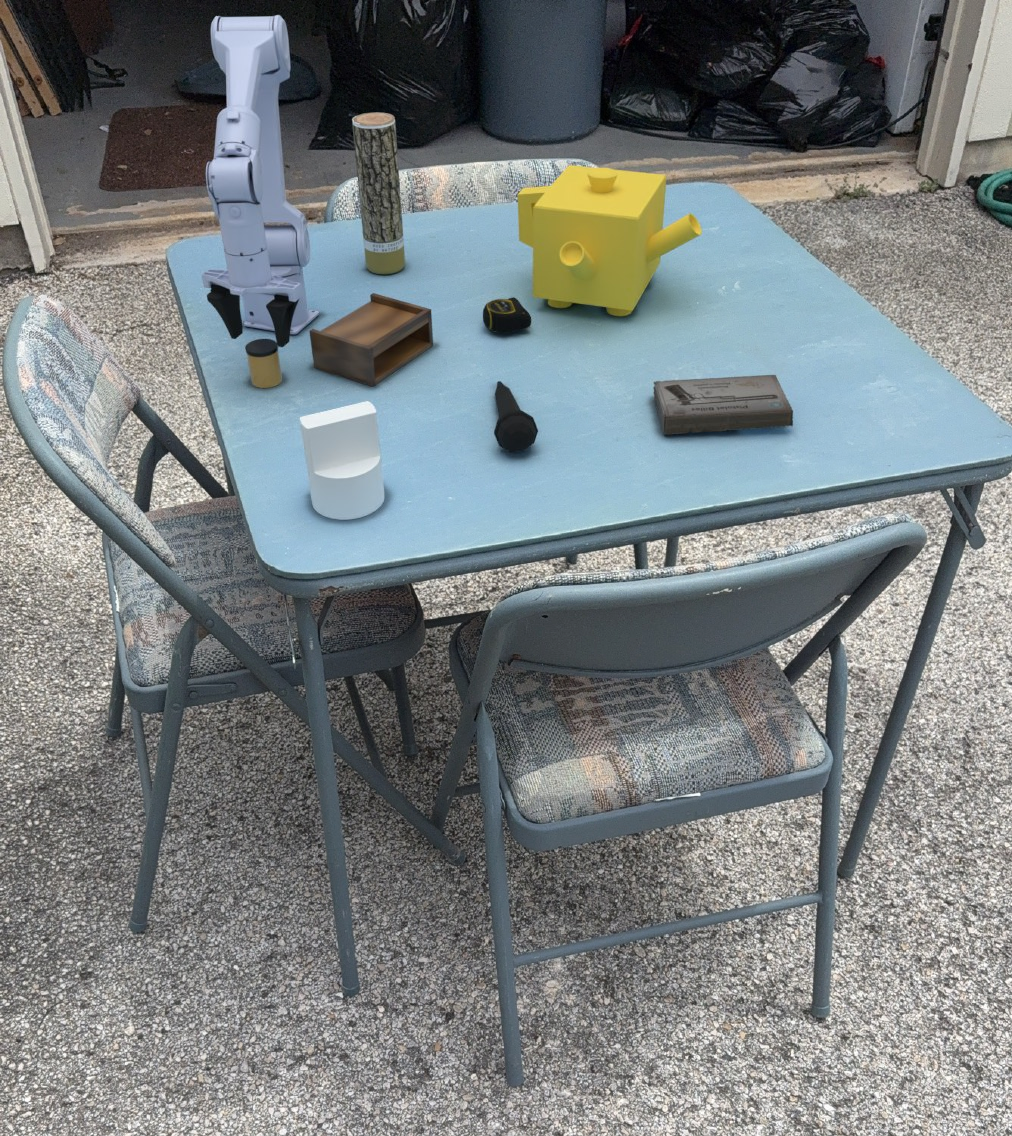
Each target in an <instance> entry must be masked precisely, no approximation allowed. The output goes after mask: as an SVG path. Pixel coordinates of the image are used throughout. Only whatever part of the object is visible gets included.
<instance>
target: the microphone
mask: <svg viewBox="0 0 1012 1136" xmlns="http://www.w3.org/2000/svg"><path fill="white" fill-rule="evenodd" d="M494 398H495V402H496V403H495V404H496V409H497V414H498V419H497V421H496V424H495V427H494V431H493V434H494V437H495V440H496V442H497V445H498V446H499V447H500V448H502V449H503V450H505V451H507V452H509V453H521V452H525V451H526V450H527V449H529V448H530V447H531V446H532V445H534V444H535V443H536V440H537V436H538V434H539V429H538V426H537V424H536V421H535V418H534V417H533V415H530V414H529V413H527V412H525V411H524V410H522V409H521V408H520V406H519V403H518V402H517V400H516V398H515V396H514V395H513V392H512V391H511V389H510V387H508V386H506V385H505V384H504V383H503V382H502V381H501V380H498V381H497V382H496V389H495V393H494Z"/></svg>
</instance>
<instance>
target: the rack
mask: <svg viewBox="0 0 1012 1136" xmlns="http://www.w3.org/2000/svg"><path fill="white" fill-rule="evenodd" d="M369 297H370V300H369V301H368V302H367V303H364V304H363V305H362V306H360V307H358V308H357V309H355V310H353V311H351V312H350V313H348V314H347V315H345V316H343V317H341V318H340V319H338V320H336V321H334V322H333V323H331V324H330V325H328V326H327V327H325V328H323V329H321V330H318V329H315V328H311V329H310V330H309V331H308V332H309V340H310V347H311V356H312V363H313V368H314V369H317V370H320V371H323V372H326V373H329V374H332V375H336V376H339V377H342V378H345V379H348V380H350V381H354V382H357V383H359V384H363V385H365V386H366V385H367V386H369V387H372V388H373V387H374V386H377V385H378V384H379V383H380V382H382V381H383V380H385V379H386V378H387V377H389V376H391V375H392V374H393V373H395V372H396V371H398V370H400V369H401V368H402V367H404V366H405V365H407V364H408V363H410V362H411V361H412V360H414V359H416V358H417V357H418V356H420V355H422V354H423V353H424V352H426V351H428V350H429V349H430V348H432V347H433V346H434V335H433V334H434V333H433V316H432V309H431V308H428V307H425V306H421V305H417V304H414V303H410V302H407V301H403V300H400V299H397V298H393V297H389V296H385V295H383V294H378V293H375V292H372V293H370V295H369Z"/></svg>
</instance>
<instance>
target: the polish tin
mask: <svg viewBox="0 0 1012 1136" xmlns="http://www.w3.org/2000/svg"><path fill="white" fill-rule="evenodd" d="M244 350H245V353H246V357H247V363H248V369H249V374H250V375H249V376H250V380H251V384H252V385H253V386H254V387H256V388H258V389H270V388H273V387H276V386H278V385H280V384H281V383H282V381H283V375H282V369H281V367H282V366H281V361H280V355H279V347H278V344H277V341H276V340H274V339H270V338H257V339H254V340H251V341H248V343H246V344H245V346H244Z"/></svg>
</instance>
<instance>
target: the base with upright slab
mask: <svg viewBox="0 0 1012 1136" xmlns="http://www.w3.org/2000/svg"><path fill="white" fill-rule="evenodd" d="M299 423H300V430H301V436H302V443H303V445H302V446H303V451H304V457H305V464H306V472H307V478H308V486H309V491H310V492H309V493H310V498H311V504H312V507H313V509H314V511H315V512H316V513H318V514H319V515H321V516H323V517H325V518H328V519H332V520H338V521H339V520H340V521H345V520H348V521H349V520H354V519H360V518H363V517H366V516H369V515H371V514H373V513H374V512H376V511H377V510H378V509H379V508H380V507H382V505H383V503H384V501H385V484H384V475H383V466H382V465H383V464H382V455H381V454H382V453H381V444H380V434H379V425H378V424H379V423H378V413H377V408H376V407H375V405H374V404H372V402H371V401H368V400H366V401H362V402H357V403H353V404H348V405H345V406H341V407H337V408H334V409H328V410H324V411H321V412H316V413H315V412H314V413H311V414H307V415H303V416H299Z"/></svg>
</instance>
